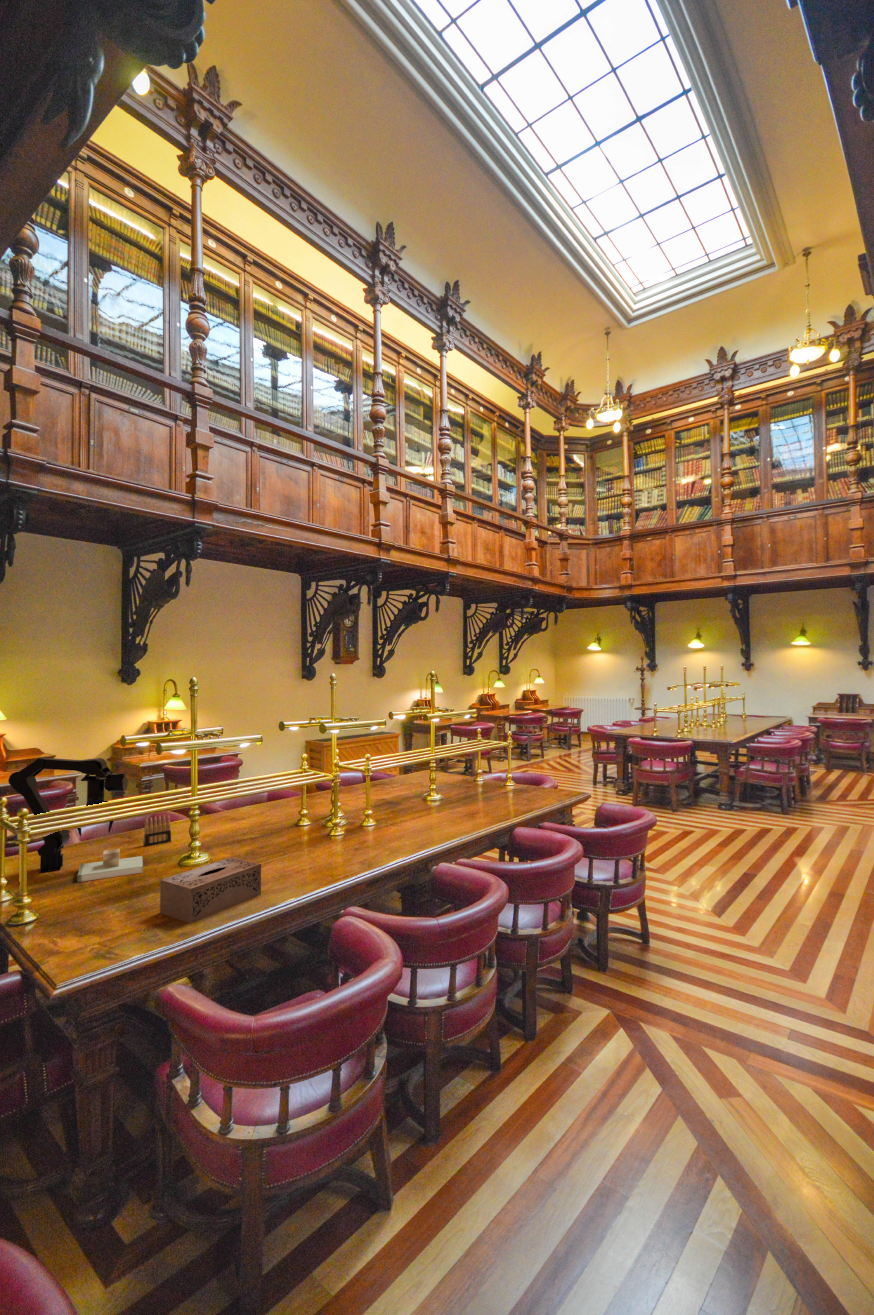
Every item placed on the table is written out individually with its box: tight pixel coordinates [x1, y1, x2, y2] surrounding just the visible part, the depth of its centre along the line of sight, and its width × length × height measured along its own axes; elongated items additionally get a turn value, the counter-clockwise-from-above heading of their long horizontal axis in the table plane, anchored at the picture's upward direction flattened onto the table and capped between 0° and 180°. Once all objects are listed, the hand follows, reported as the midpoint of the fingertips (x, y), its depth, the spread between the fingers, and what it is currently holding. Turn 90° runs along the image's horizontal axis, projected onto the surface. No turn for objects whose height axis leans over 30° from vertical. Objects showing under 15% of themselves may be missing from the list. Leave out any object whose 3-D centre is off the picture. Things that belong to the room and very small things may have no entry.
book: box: [76, 855, 144, 883], centre depth 207 cm, size 20×14×3 cm
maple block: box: [102, 848, 121, 868], centre depth 207 cm, size 5×5×5 cm
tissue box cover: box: [159, 856, 262, 924], centre depth 177 cm, size 26×14×10 cm, turn 149°
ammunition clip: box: [142, 813, 172, 847], centre depth 243 cm, size 11×2×12 cm, turn 133°
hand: (94, 834), depth 213 cm, fingers open, 9 cm apart
